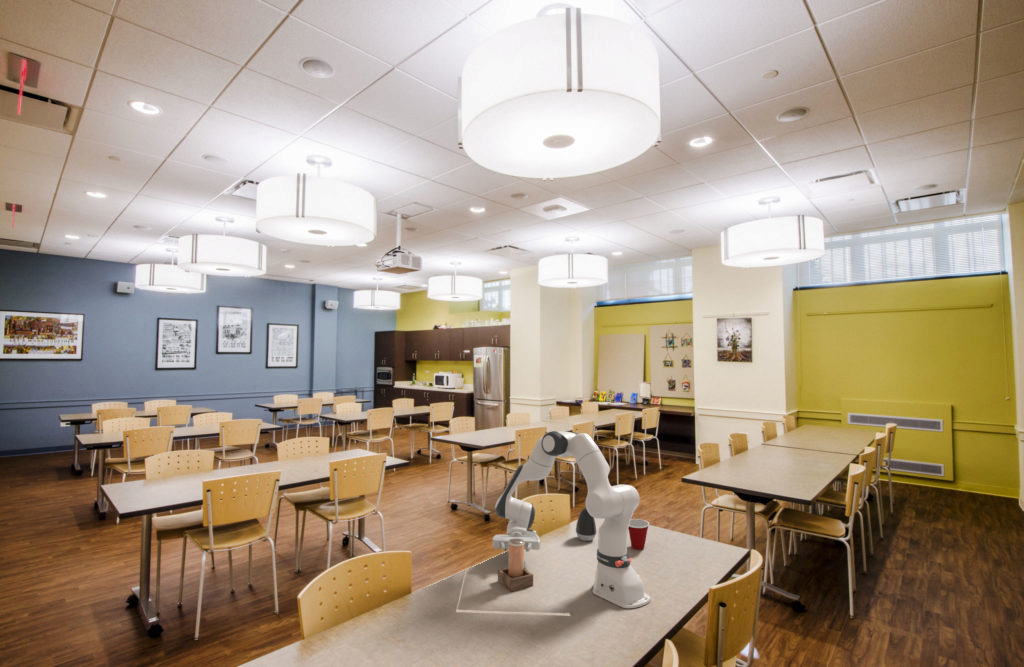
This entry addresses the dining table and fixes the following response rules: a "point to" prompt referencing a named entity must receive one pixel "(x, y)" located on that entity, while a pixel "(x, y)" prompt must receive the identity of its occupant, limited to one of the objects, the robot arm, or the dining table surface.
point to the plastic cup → (638, 533)
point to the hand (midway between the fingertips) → (516, 549)
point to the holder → (515, 580)
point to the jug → (516, 558)
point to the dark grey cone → (585, 526)
